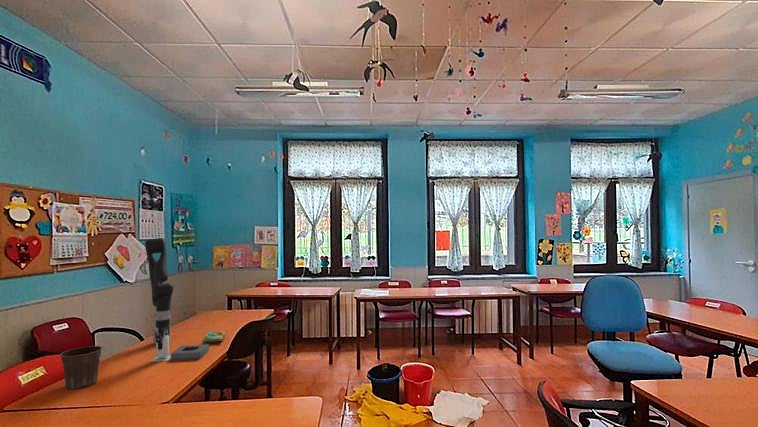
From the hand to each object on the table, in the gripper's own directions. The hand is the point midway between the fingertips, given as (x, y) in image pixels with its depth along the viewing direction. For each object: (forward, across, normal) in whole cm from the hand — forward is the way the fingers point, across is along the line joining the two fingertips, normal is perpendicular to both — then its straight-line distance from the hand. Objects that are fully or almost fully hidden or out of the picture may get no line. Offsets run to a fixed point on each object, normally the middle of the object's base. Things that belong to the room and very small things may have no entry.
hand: (162, 347), depth 229 cm
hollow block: (+7, -4, +14) cm, 16 cm away
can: (+5, 0, 0) cm, 5 cm away
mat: (+7, 0, 0) cm, 7 cm away
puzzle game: (+7, -36, +19) cm, 41 cm away
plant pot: (+7, +35, -23) cm, 42 cm away
